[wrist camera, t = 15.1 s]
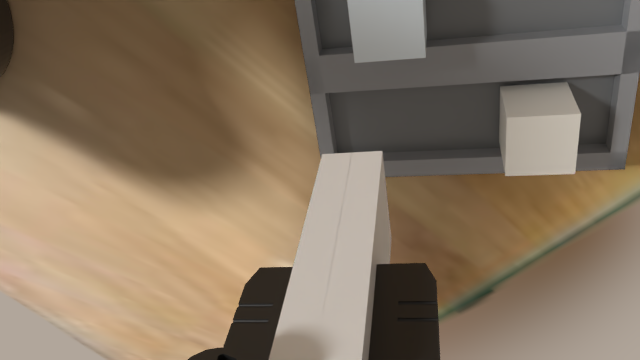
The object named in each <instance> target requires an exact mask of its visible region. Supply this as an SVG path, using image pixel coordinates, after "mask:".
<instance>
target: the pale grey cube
mask: <svg viewBox="0 0 640 360" xmlns="http://www.w3.org/2000/svg"><path fill="white" fill-rule="evenodd" d="M347 3H348V11H349V20H350V28H351V37H352V45H353V53H354V62H355V63H362V62H376V61H389V60H402V59H415V58H426V41H427V22H426V2H425V0H347Z"/></svg>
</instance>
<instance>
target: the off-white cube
mask: <svg viewBox="0 0 640 360" xmlns="http://www.w3.org/2000/svg"><path fill="white" fill-rule="evenodd" d="M580 121H581V112H580V110H579V108H578V106H577V103H576V101H575V99H574V97H573V94H572V92H571V90H570V88H569V85H568V83H567V82H560V83H545V84H529V85H513V86H500V120H499V143H500V149H501V155H502V161H503V166H504V172H505V176H528V175H560V174H575V170H576V161H577V151H578V141H579V131H580Z"/></svg>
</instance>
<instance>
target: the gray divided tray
mask: <svg viewBox="0 0 640 360" xmlns="http://www.w3.org/2000/svg"><path fill="white" fill-rule="evenodd" d="M425 2H426V22H427V41H426V58H415V59H402V60H389V61H376V62H362V63H355V62H354V53H353V45H352V37H351V28H350V20H349V11H348V3H347V0H295V6H296V12H297V18H298V24H299V30H300V36H301V42H302V48H303V54H304V60H305V66H306V72H307V78H308V84H309V90H310V96H311V102H312V108H313V114H314V120H315V126H316V132H317V138H318V144H319V150H320V156H321V157H322V154H335V153H353V152H371V151H382V152H383V161H384V171H385V177H398V176H430V175H461V174H492V173H505V172H504V166H503V161H502V155H501V149H500V143H499V120H500V86H513V85H529V84H545V83H560V82H567V83H568V85H569V88H570V90H571V92H572V94H573V97H574V99H575V101H576V103H577V106H578V108H579V110H580V112H581V121H580V131H579V141H578V151H577V161H576V170H575V171H586V170H618V169H625V164H626V158H627V151H628V145H629V138H630V132H631V125H632V118H633V112H634V105H635V99H636V92H637V86H638V79H639V73H640V0H425Z"/></svg>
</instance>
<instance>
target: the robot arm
mask: <svg viewBox="0 0 640 360" xmlns="http://www.w3.org/2000/svg"><path fill="white" fill-rule="evenodd" d="M12 49H13V24H12V18H11V13H10V9H9V6H8V2H7V0H0V77H1V76H2V74H3V73H4V71H5V70H6V68H7V66H8V63H9V61H10V58H11V54H12ZM390 254H391V229H390V219H389V209H388V200H387V190H386V181H385V171H384V161H383V152H382V151H371V152H353V153H335V154H322V157H321V161H320V165H319V169H318V173H317V176H316V180H315V184H314V188H313V192H312V196H311V199H310V203H309V207H308V211H307V215H306V219H305V222H304V226H303V230H302V234H301V238H300V242H299V245H298V249H297V253H296V257H295V261H294V264H293V267H271V268H259V270H258V271H257V272H256V273H255V274H254V275H253V276H252V277H251V279H250V280H249V281H248V282H247V283H246V284H245V287H244V289H243V292H242V295H241V298H240V301H239V307H237V310H236V312H235V315H234V318H233V323H232V324H231V327H230V330H229V333H228V335H227V338H226V341H225V344H224V347H223V348H215V349H208V350H205V351H203V352H200V353H198V354H196V355H194V356H192V357H190V358H189V359H188V360H440V346H439V323H438V304H437V286H436V280H435V278H434V276H433V275H432V273H431V272H430V270H429V268H428V267H427V265H426V264H425V263H410V264H390Z"/></svg>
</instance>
